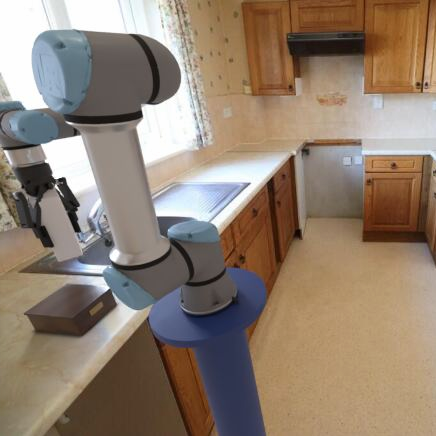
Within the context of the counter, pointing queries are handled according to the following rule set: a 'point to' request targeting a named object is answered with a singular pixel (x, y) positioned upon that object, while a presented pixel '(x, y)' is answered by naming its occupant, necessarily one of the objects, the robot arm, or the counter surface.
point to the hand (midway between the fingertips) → (63, 239)
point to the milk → (58, 226)
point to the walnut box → (72, 309)
